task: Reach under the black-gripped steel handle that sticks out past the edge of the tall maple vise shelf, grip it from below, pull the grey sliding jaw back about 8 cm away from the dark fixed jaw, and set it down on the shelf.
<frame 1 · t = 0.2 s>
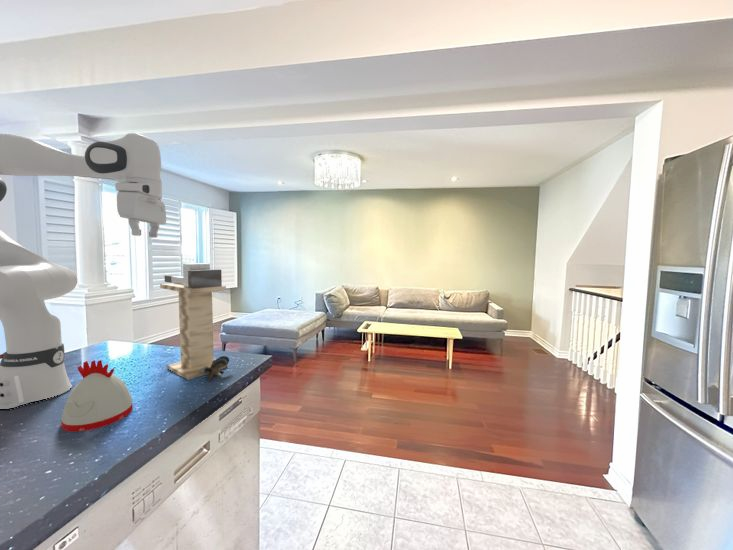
hand: (145, 236, 92), 48 cm above the counter, tool pointing down, fingers open, 8 cm apart
kitchen timer: (99, 416, 79), on the counter
sliding jaw: (177, 282, 117), point 31 cm above the counter, touching vise shelf
vise shelf: (180, 360, 120), on the counter
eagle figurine: (215, 377, 104), on the counter
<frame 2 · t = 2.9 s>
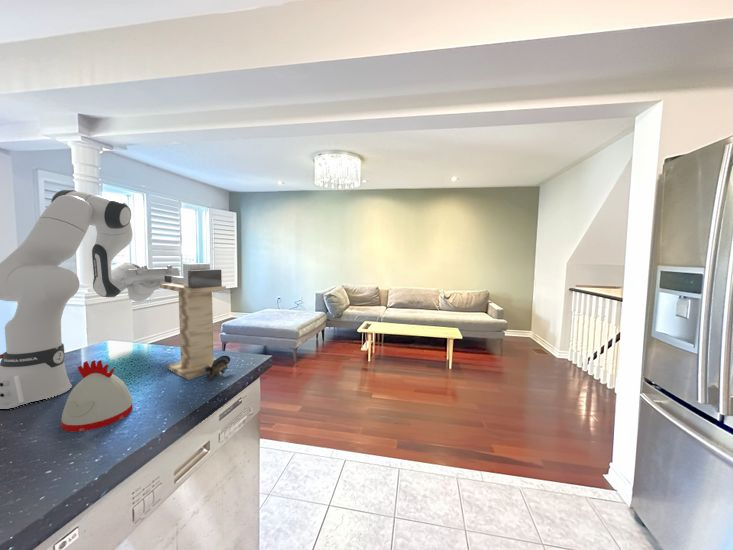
hand: (158, 266, 127), 37 cm above the counter, tool pointing upward, fingers open, 8 cm apart
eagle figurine: (217, 376, 105), on the counter, touching vise shelf
everything else where it was.
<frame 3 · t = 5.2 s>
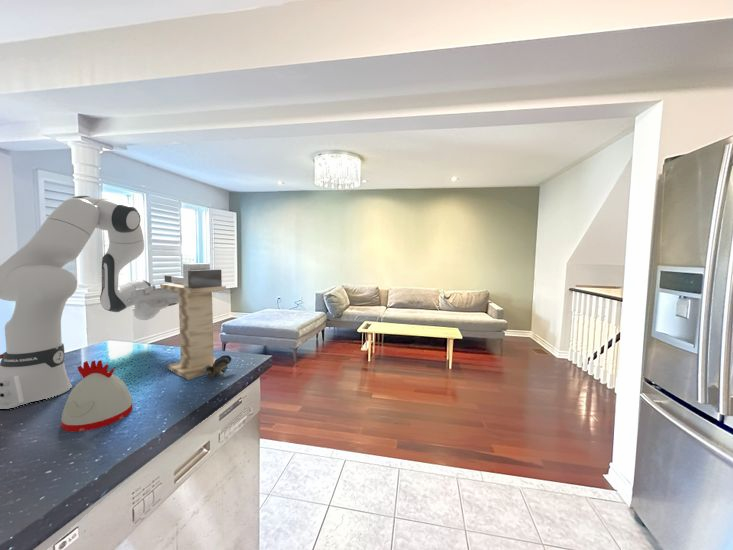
hand: (166, 285, 123), 29 cm above the counter, tool pointing upward, fingers open, 8 cm apart
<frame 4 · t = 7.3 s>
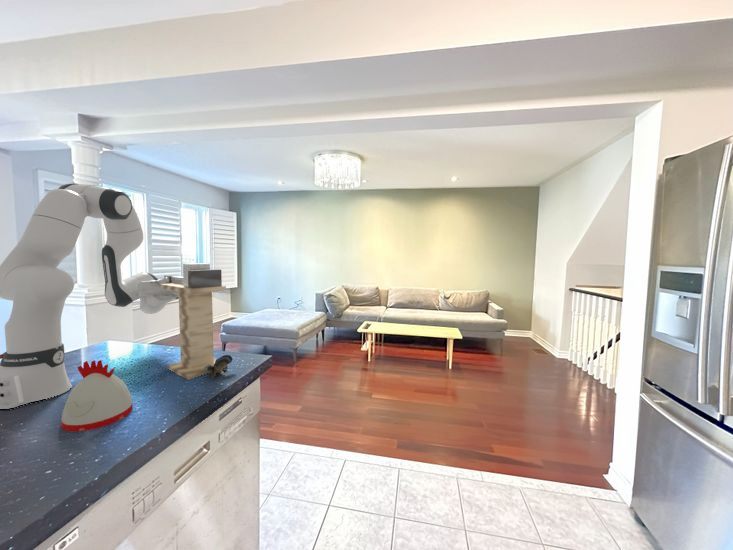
hand: (173, 278, 119), 33 cm above the counter, tool pointing upward, fingers closed on sliding jaw, 3 cm apart
sliding jaw: (177, 282, 117), point 31 cm above the counter, touching gripper, vise shelf
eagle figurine: (219, 375, 106), on the counter
everything else where it was.
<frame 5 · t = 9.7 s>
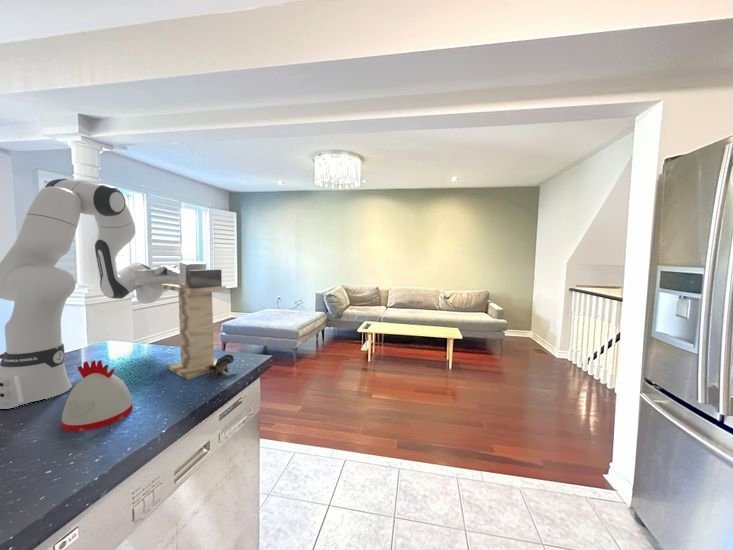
hand: (169, 267, 121), 37 cm above the counter, tool pointing upward, fingers closed on sliding jaw, 3 cm apart
sliding jaw: (173, 275, 119), point 34 cm above the counter, tilted 9°, touching gripper
when the fingers open (33 cm above the counter, at t = 11.9 s): sliding jaw stays where it is, resting on vise shelf.
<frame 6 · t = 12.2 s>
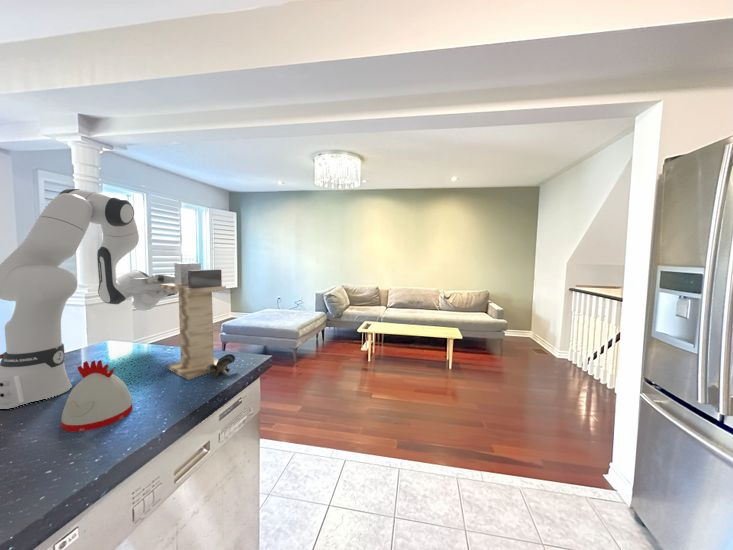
hand: (165, 275, 124), 33 cm above the counter, tool pointing upward, fingers open, 5 cm apart
sliding jaw: (170, 281, 121), point 31 cm above the counter, touching vise shelf
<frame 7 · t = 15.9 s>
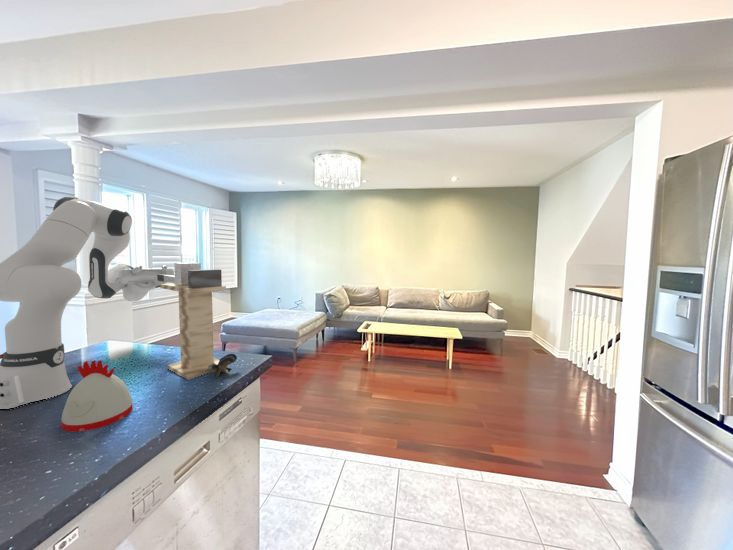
hand: (153, 267, 130), 36 cm above the counter, tool pointing upward, fingers open, 8 cm apart
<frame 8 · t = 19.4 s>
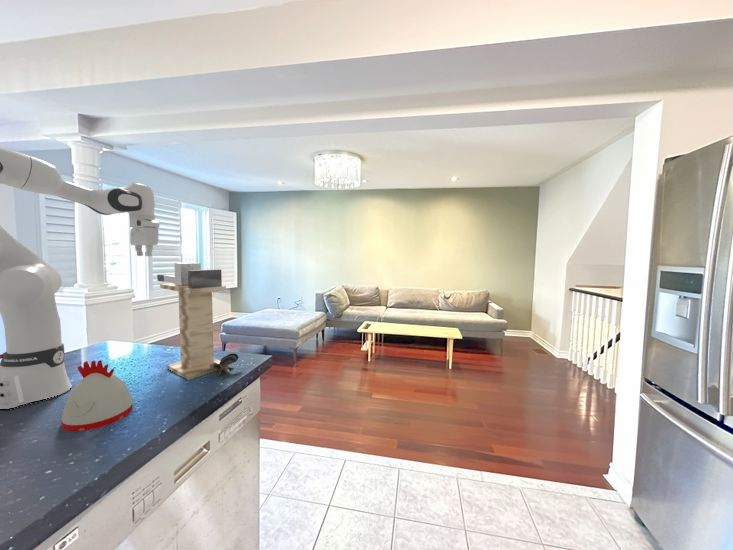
hand: (144, 256, 128), 41 cm above the counter, tool pointing down, fingers open, 8 cm apart
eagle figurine: (225, 373, 108), on the counter, touching vise shelf
everything else where it was.
at the end: sliding jaw moved 7.0 cm from its start; sliding jaw inside the target area (0.6 cm from its centre), point 31.0 cm above the counter; the gripper is holding nothing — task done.
